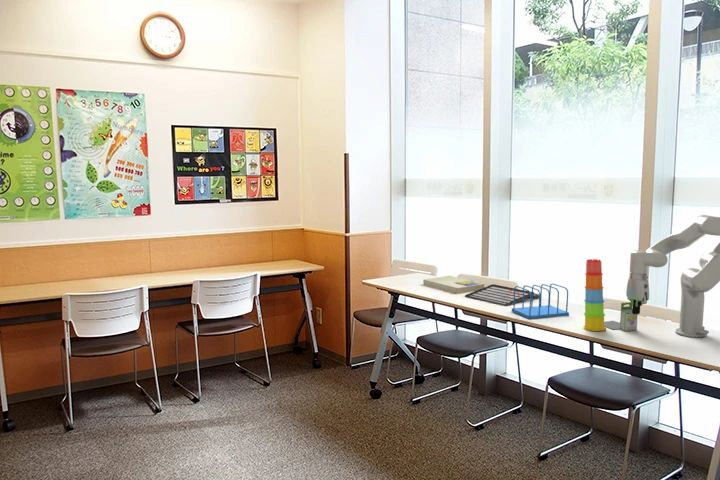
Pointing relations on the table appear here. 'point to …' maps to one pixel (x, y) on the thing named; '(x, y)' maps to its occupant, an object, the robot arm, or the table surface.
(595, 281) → the stacking cups
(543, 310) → the file sorter
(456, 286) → the puzzle box
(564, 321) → the table surface
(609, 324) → the mat
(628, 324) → the ink box
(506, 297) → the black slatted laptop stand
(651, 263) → the robot arm
